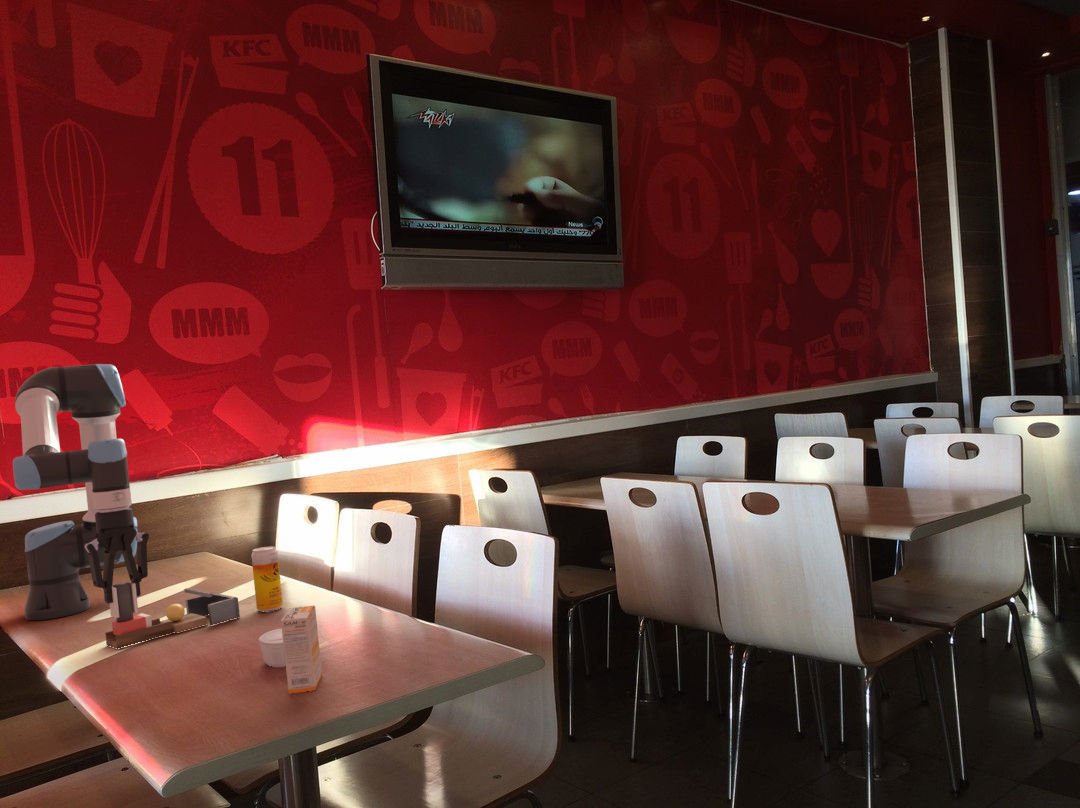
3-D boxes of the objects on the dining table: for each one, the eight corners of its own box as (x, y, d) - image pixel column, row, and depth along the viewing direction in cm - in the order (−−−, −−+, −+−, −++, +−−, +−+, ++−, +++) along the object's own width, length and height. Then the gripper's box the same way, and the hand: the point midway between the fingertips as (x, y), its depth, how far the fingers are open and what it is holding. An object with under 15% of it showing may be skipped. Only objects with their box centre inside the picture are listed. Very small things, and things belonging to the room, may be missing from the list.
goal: (187, 620, 211) (184, 588, 211) (215, 612, 216) (211, 582, 216) (212, 626, 203) (208, 593, 203) (239, 618, 208) (236, 586, 208)
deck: (160, 629, 204) (159, 621, 204) (191, 621, 210) (190, 613, 210) (176, 634, 199) (175, 625, 199) (207, 625, 204) (206, 616, 204)
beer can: (275, 612, 211) (269, 550, 210) (252, 613, 212) (246, 552, 211) (287, 605, 217) (281, 545, 216) (265, 606, 218) (258, 546, 217)
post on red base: (113, 634, 195) (107, 585, 194) (143, 626, 200) (138, 578, 199) (121, 637, 192) (116, 587, 191) (152, 628, 197) (146, 580, 196)
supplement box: (296, 678, 160) (288, 607, 159) (323, 675, 160) (315, 604, 160) (287, 694, 152) (279, 619, 151) (315, 691, 152) (307, 616, 152)
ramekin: (288, 672, 164) (285, 644, 164) (248, 666, 170) (245, 639, 170) (332, 653, 174) (329, 627, 174) (292, 648, 180) (290, 623, 179)
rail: (106, 646, 194) (105, 632, 194) (160, 631, 203) (158, 618, 203) (118, 649, 190) (116, 636, 190) (172, 634, 199) (170, 621, 199)
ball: (163, 622, 203) (162, 605, 203) (180, 617, 206) (178, 600, 206) (171, 624, 200) (170, 607, 200) (188, 619, 203) (186, 602, 203)
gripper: (80, 516, 185) (92, 626, 186) (158, 503, 197) (169, 606, 198) (67, 515, 190) (78, 622, 191) (143, 502, 202) (154, 603, 203)
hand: (124, 614), depth 195 cm, fingers closed on post on red base, 3 cm apart
